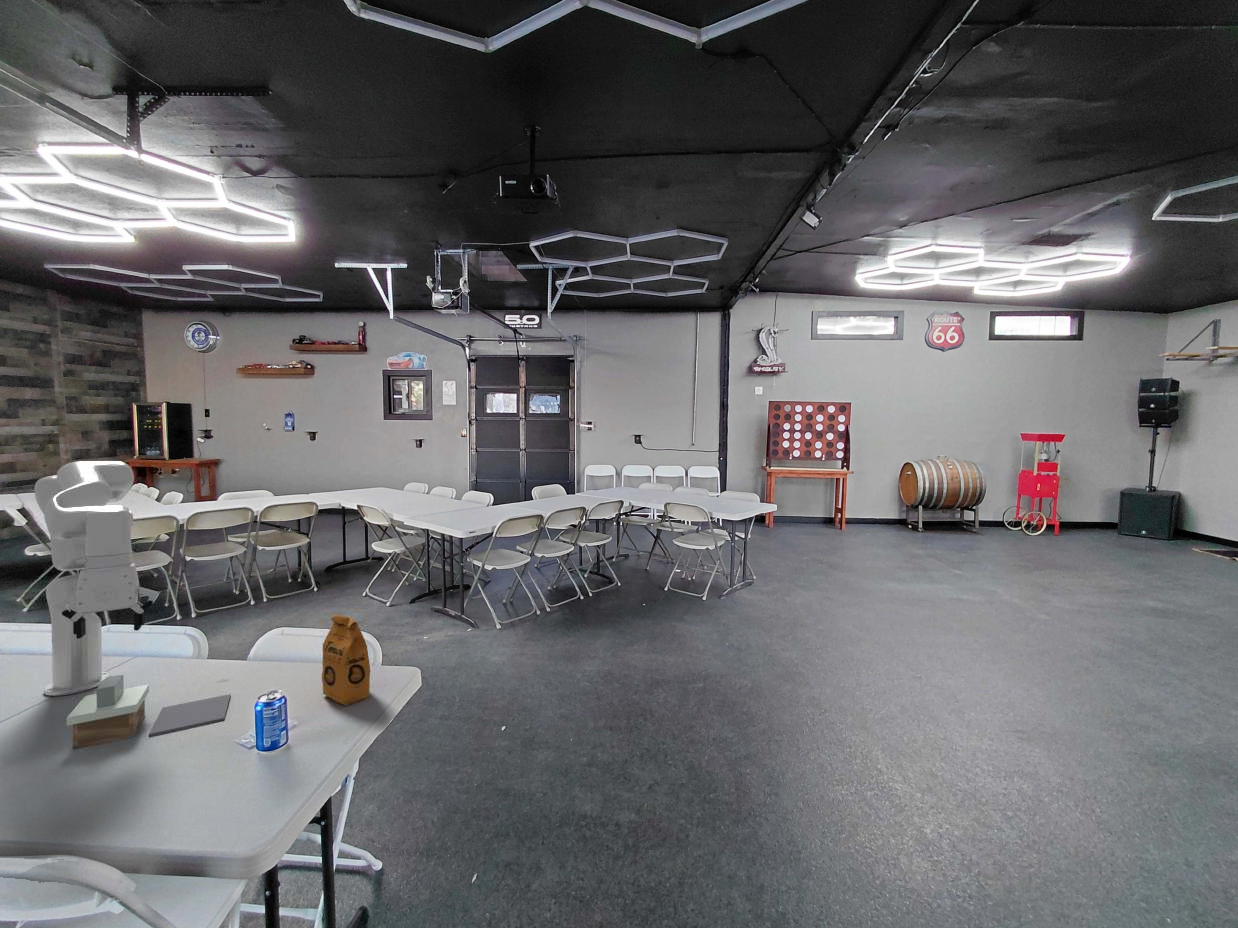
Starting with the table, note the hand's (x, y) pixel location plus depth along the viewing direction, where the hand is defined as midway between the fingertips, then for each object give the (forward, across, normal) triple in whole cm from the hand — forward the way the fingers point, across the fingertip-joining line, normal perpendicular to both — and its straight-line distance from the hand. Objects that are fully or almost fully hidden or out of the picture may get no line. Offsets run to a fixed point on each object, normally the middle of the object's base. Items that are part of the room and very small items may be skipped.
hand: (110, 632), depth 118 cm
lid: (+18, 0, 0) cm, 18 cm away
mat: (+24, +15, +1) cm, 28 cm away
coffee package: (+25, +49, -8) cm, 55 cm away
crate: (+24, 0, +1) cm, 24 cm away
